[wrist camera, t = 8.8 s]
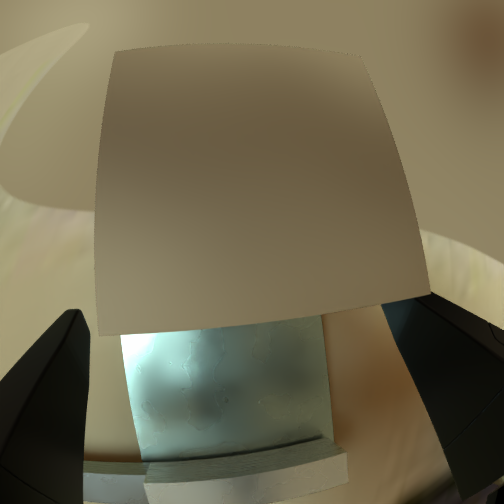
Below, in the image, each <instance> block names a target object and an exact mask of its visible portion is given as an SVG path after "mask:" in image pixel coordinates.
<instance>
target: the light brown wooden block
mask: <svg viewBox="0 0 504 504" xmlns="http://www.w3.org/2000/svg"><path fill="white" fill-rule="evenodd" d="M346 483H348V464H347V452H346V451H345V450H343V449H342V448H341V447H339V446H338V445H337V444H336V443H334V442H333V441H332V440H331V439H329V438H328V437H326V438H322V439H318V440H314V441H310V442H306V443H301V444H297V445H292V446H288V447H283V448H278V449H273V450H267V451H262V452H256V453H250V454H243V455H236V456H229V457H221V458H212V459H202V460H190V461H175V462H146V463H126V462H98V461H84V463H83V501H87V502H97V503H109V504H268V503H273V502H278V501H283V500H288V499H292V498H296V497H300V496H304V495H308V494H312V493H316V492H319V491H323V490H327V489H330V488H333V487H337V486H340V485H343V484H346Z"/></svg>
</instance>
